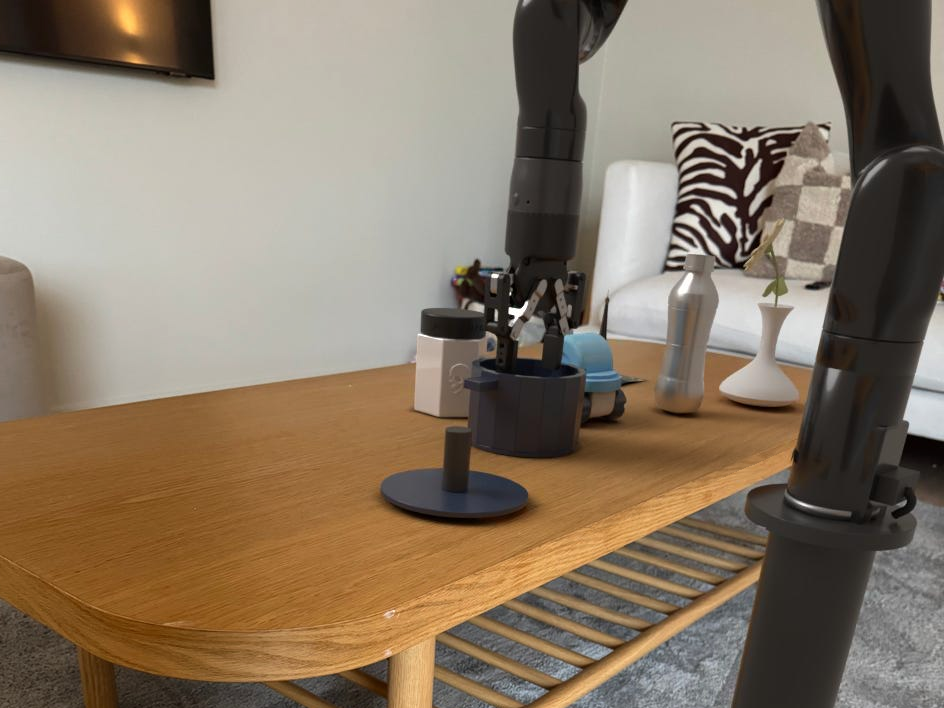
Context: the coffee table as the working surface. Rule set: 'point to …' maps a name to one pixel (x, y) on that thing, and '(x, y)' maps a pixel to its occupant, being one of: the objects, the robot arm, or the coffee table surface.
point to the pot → (525, 408)
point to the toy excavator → (595, 374)
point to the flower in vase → (765, 346)
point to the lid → (454, 485)
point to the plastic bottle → (687, 337)
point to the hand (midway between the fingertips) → (528, 371)
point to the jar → (447, 360)
